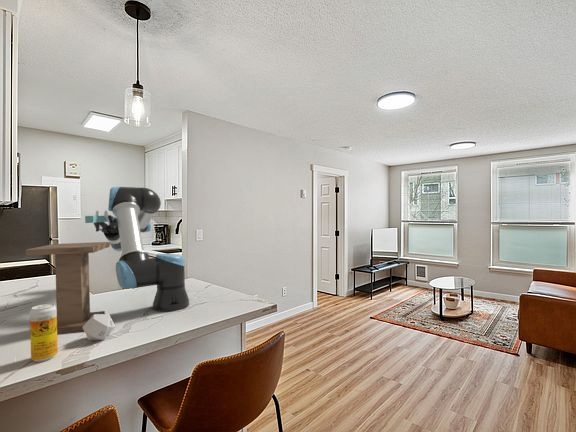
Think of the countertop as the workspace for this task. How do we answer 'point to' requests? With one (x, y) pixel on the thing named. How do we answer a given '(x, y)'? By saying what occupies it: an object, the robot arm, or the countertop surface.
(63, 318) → the walnut pedestal
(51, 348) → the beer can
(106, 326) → the die
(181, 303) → the robot arm
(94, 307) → the countertop surface
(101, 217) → the teal bar
